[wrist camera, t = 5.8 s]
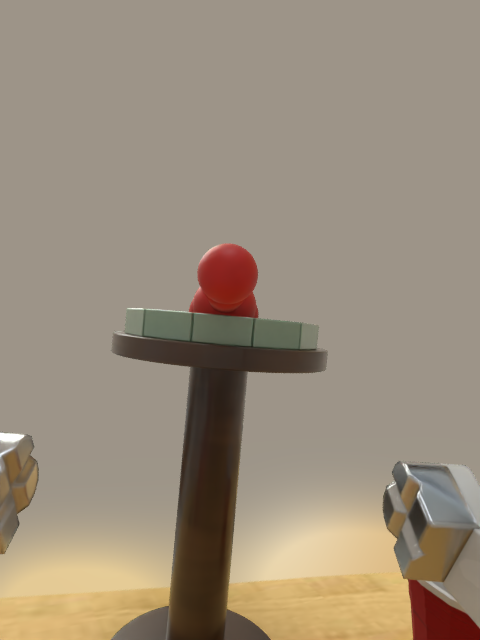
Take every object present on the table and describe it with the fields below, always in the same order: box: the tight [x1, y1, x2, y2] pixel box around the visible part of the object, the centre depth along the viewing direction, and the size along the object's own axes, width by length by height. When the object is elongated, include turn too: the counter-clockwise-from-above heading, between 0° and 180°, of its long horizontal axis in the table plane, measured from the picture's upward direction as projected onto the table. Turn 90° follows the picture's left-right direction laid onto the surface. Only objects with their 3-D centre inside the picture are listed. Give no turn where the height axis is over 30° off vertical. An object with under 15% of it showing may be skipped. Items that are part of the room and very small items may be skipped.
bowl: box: [125, 308, 319, 350], centre depth 33 cm, size 14×14×2 cm
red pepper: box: [189, 244, 258, 318], centre depth 26 cm, size 24×6×4 cm, turn 2°
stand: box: [111, 331, 327, 640], centre depth 33 cm, size 16×16×26 cm
